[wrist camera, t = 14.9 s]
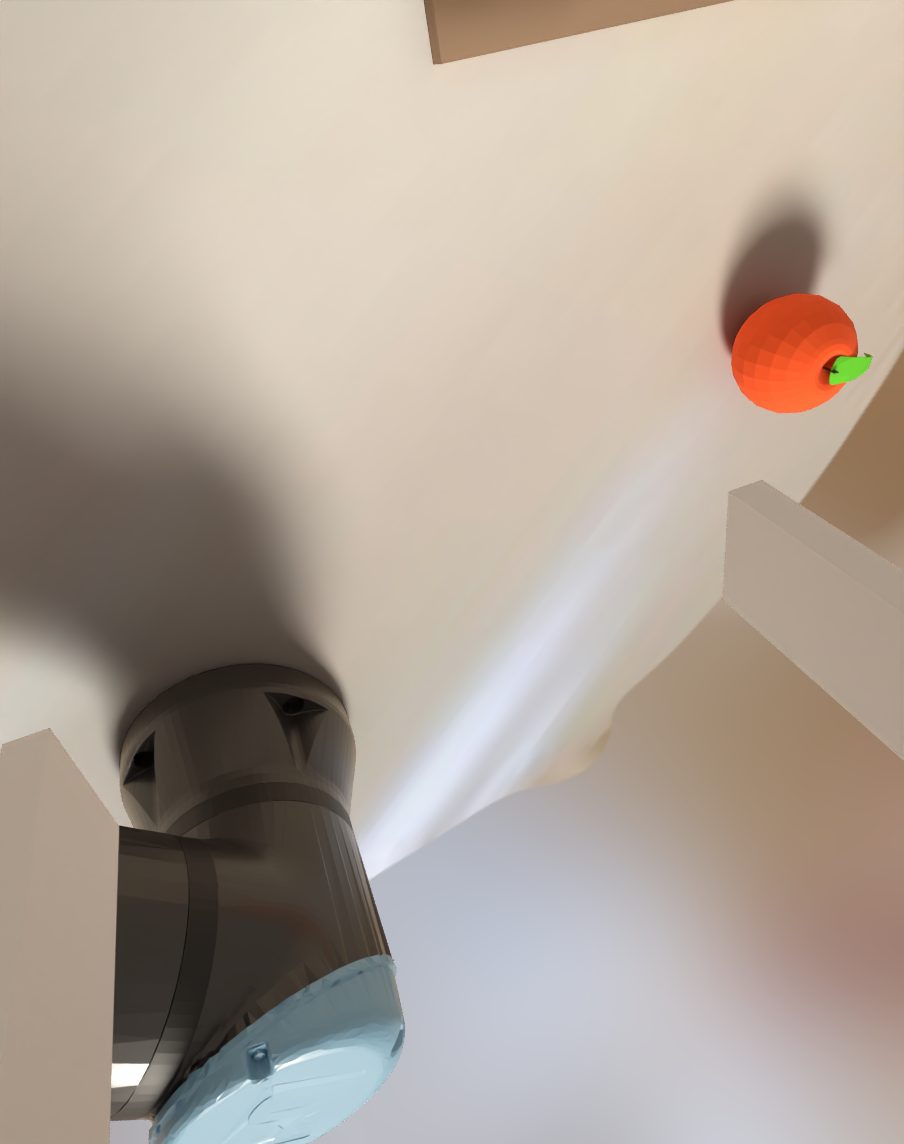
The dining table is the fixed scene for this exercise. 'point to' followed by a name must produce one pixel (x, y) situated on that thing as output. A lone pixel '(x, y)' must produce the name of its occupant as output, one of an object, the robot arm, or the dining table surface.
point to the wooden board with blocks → (531, 21)
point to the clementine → (796, 353)
